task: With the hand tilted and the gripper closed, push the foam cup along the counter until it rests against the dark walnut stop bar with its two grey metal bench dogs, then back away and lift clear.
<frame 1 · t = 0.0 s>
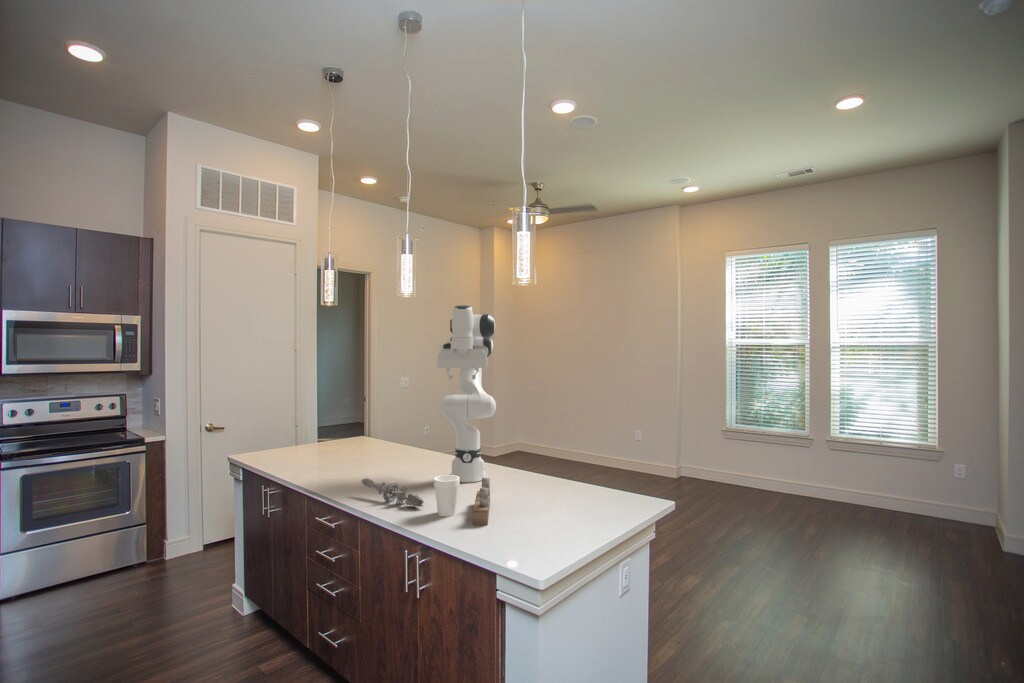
hand: (462, 379, 205), 48 cm above the table, fingers open, 8 cm apart
spaceship: (390, 502, 201), on the table
walnut stop: (482, 513, 187), on the table
foam cup: (446, 514, 186), on the table
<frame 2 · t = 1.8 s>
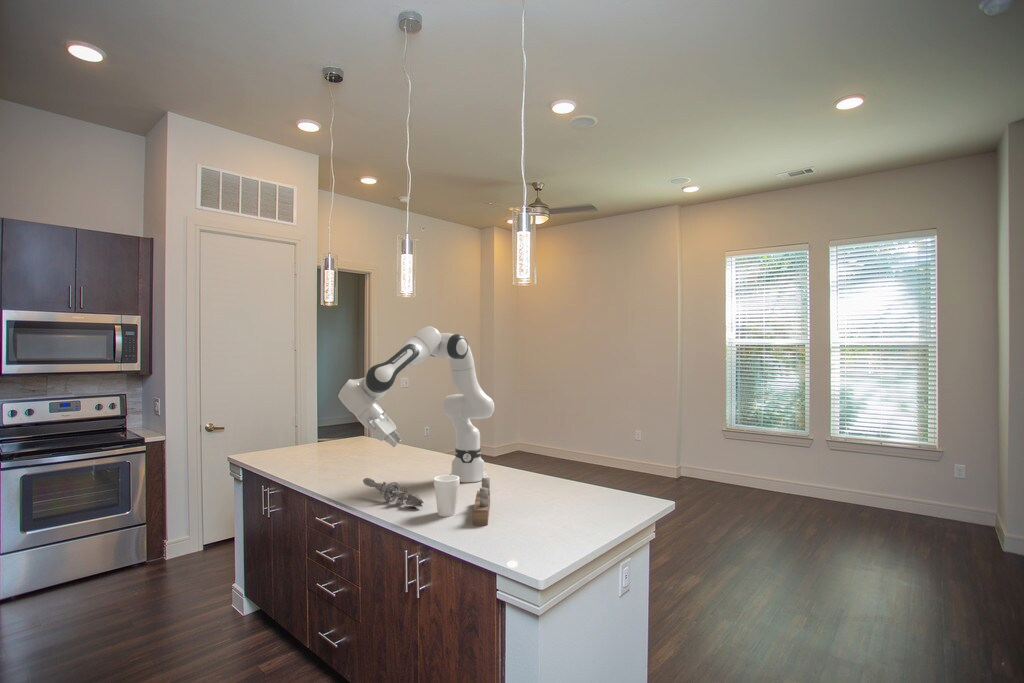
hand: (398, 443, 189), 25 cm above the table, fingers open, 8 cm apart
nothing on the table moved.
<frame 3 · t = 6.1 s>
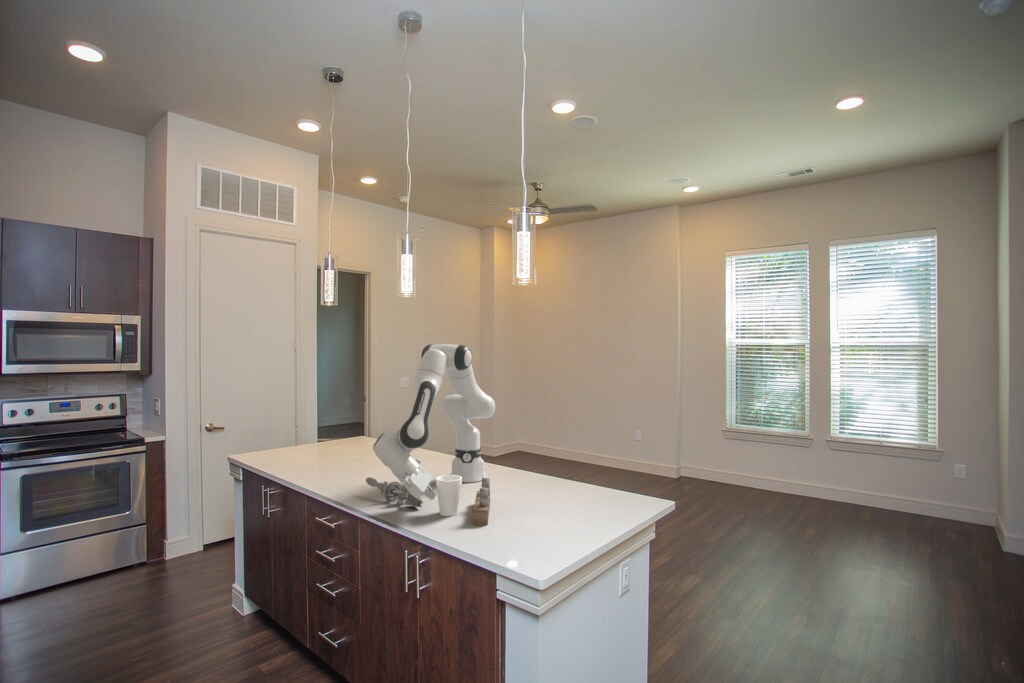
hand: (434, 497, 186), 6 cm above the table, fingers closed, pressing on foam cup
foam cup: (448, 514, 186), on the table, touching gripper
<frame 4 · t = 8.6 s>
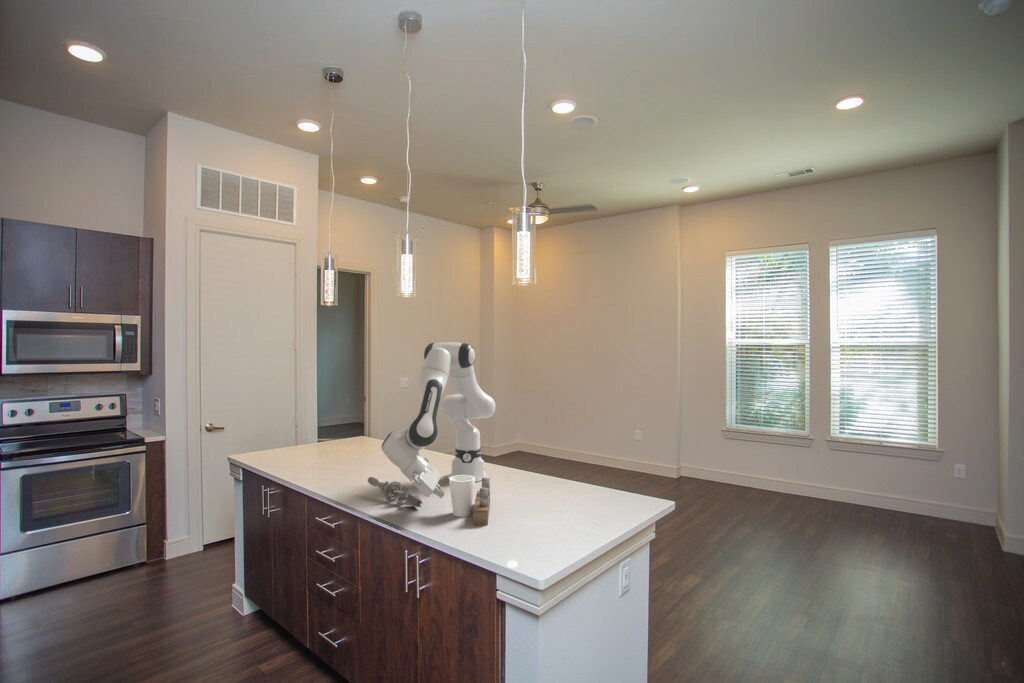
hand: (443, 495, 186), 6 cm above the table, fingers closed
foam cup: (461, 514, 186), on the table
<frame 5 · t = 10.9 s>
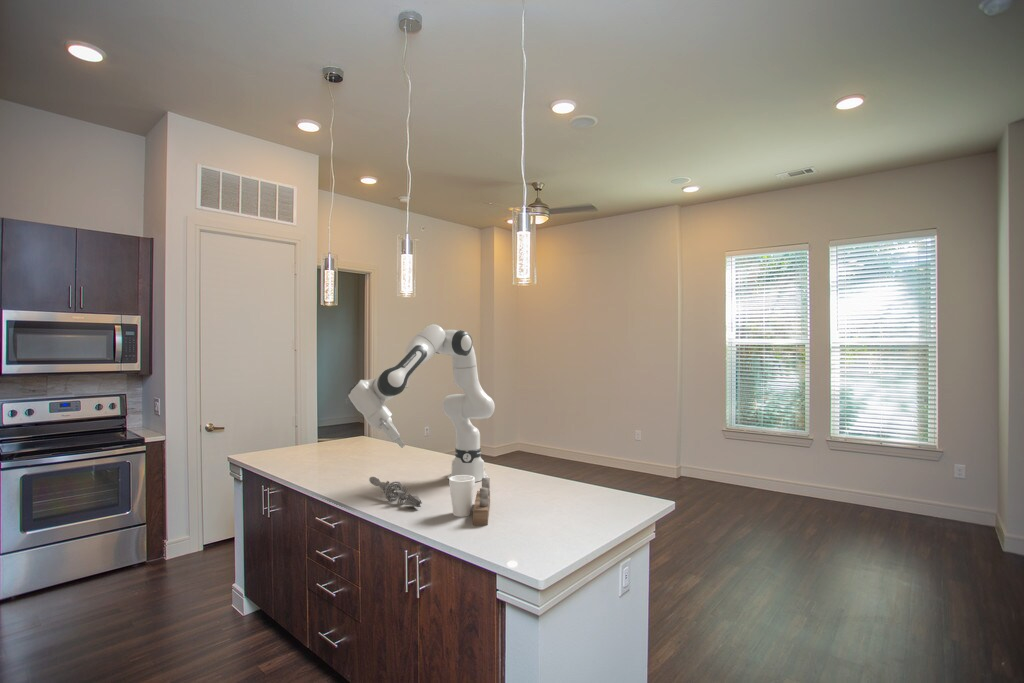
hand: (403, 446, 194), 23 cm above the table, fingers closed
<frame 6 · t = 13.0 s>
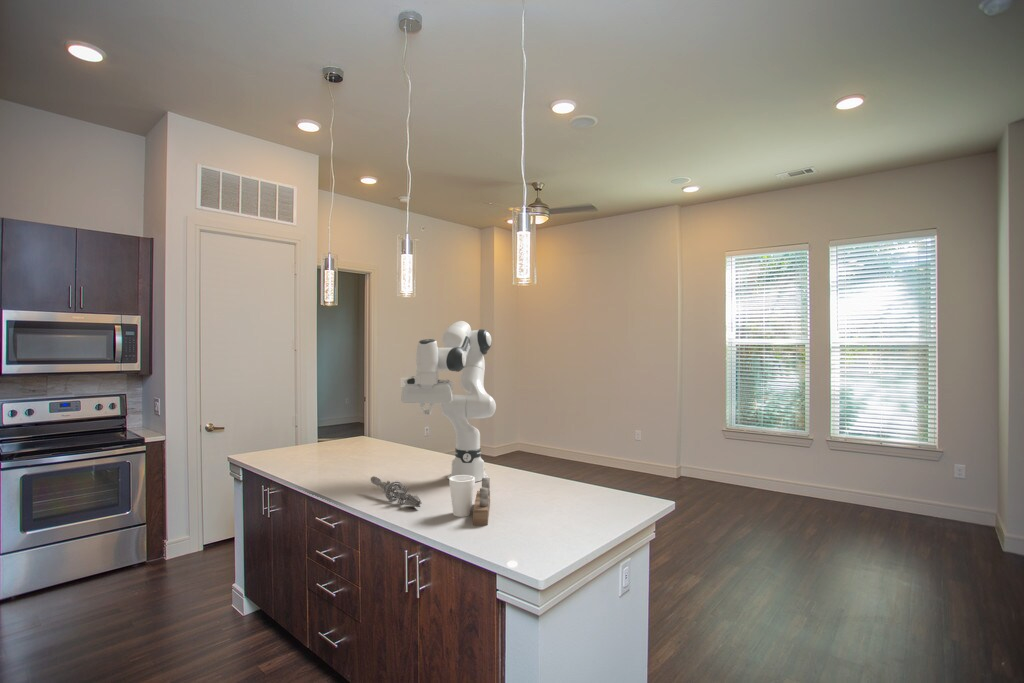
hand: (427, 414, 204), 34 cm above the table, fingers closed
at the end: foam cup inside the target area (0.2 cm from its centre), on the table; foam cup tilted 0°; foam cup moved 5.6 cm from its start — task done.
